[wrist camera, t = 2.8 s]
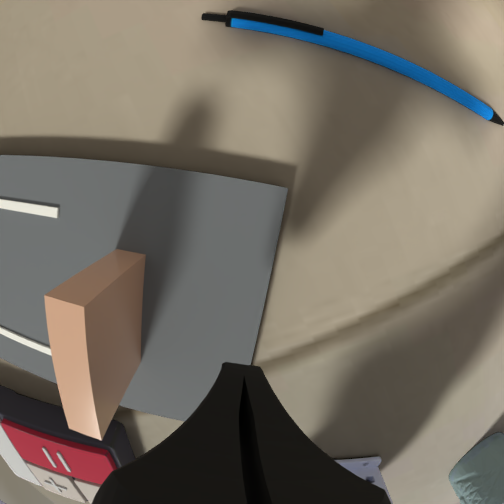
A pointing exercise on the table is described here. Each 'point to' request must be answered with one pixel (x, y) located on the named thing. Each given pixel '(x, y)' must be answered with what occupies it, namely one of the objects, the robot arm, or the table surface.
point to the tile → (96, 338)
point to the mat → (156, 264)
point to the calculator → (57, 448)
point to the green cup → (481, 473)
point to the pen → (353, 53)
